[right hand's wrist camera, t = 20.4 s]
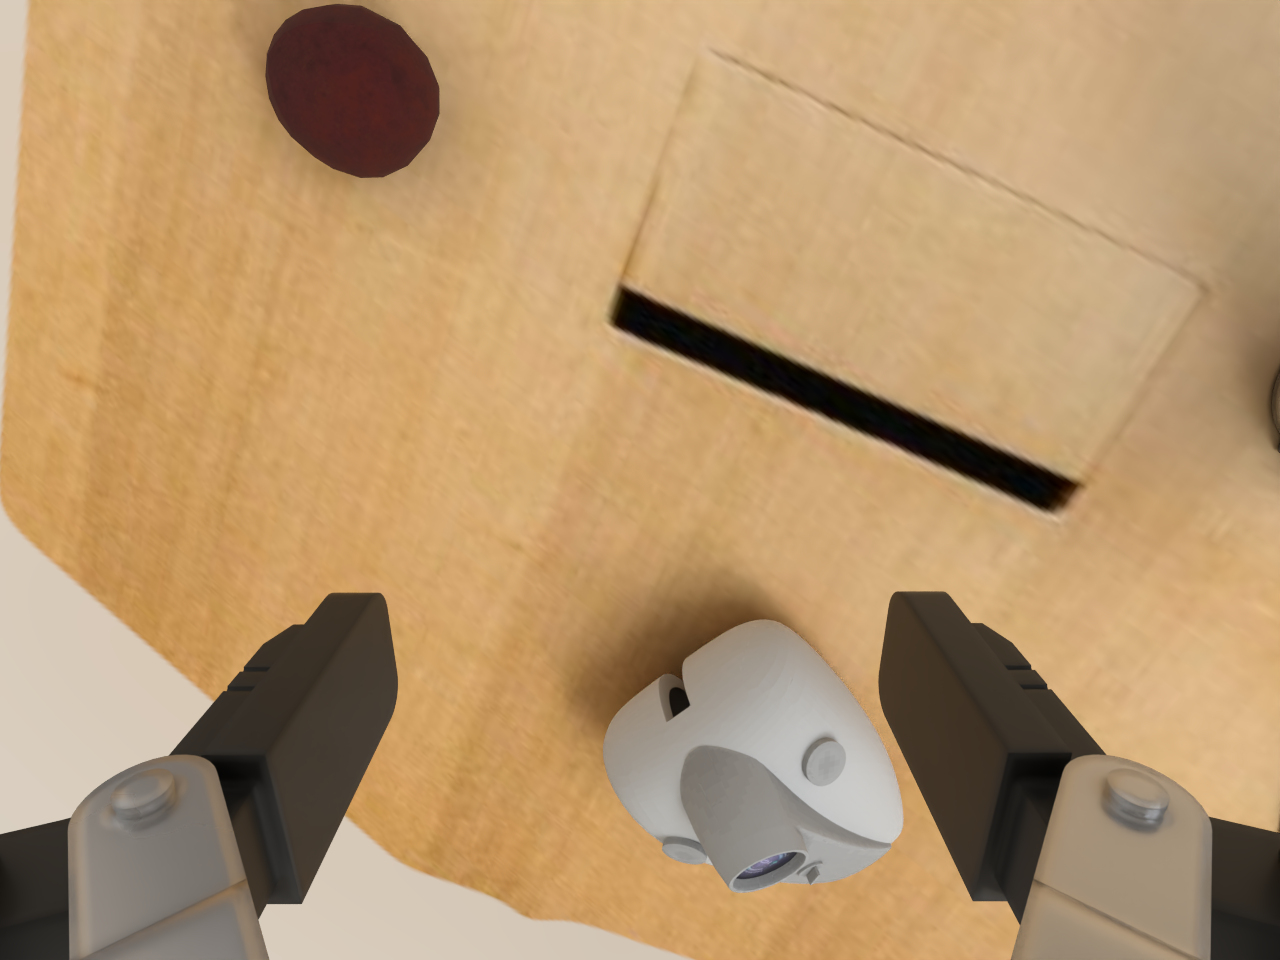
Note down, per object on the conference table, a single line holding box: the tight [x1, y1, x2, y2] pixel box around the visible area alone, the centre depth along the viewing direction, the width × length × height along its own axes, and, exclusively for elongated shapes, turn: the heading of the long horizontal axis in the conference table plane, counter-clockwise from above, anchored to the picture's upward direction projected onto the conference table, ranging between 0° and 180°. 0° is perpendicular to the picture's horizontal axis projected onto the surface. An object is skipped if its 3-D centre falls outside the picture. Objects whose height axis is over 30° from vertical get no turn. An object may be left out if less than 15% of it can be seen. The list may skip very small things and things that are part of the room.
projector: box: [603, 619, 903, 893], centre depth 46 cm, size 22×23×15 cm
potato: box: [265, 4, 439, 178], centre depth 34 cm, size 7×8×7 cm
